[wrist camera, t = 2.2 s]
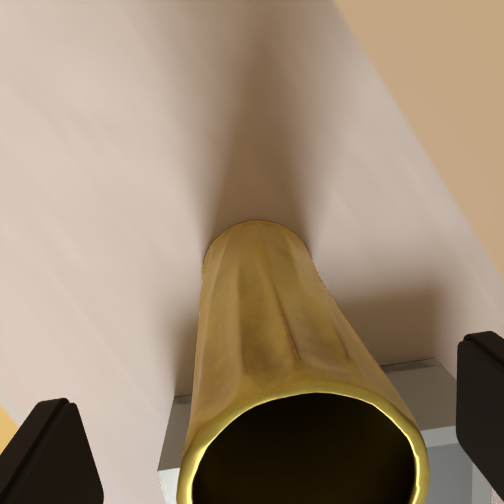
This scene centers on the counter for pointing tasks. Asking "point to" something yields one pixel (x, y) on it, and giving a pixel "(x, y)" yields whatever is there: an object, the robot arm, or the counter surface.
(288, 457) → the vase
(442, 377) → the box
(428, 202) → the counter surface
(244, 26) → the counter surface
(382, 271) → the counter surface
